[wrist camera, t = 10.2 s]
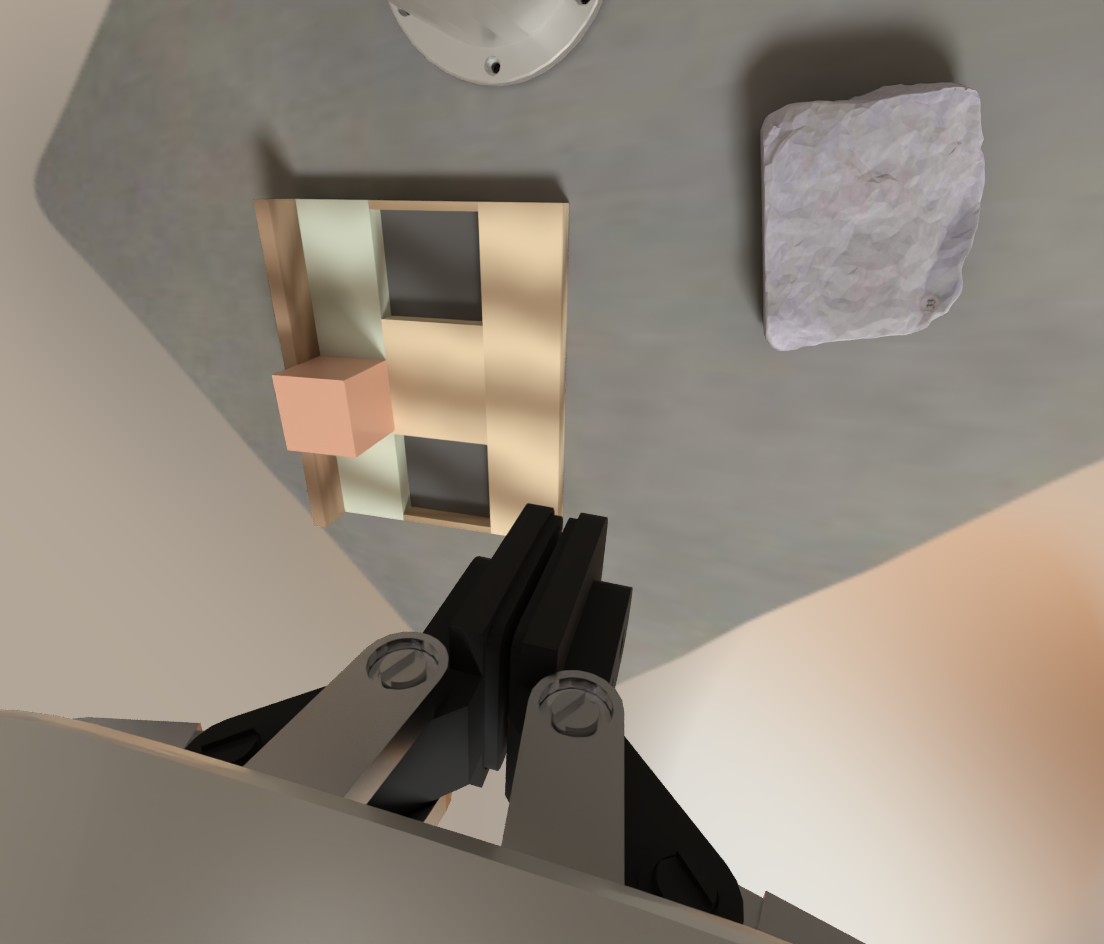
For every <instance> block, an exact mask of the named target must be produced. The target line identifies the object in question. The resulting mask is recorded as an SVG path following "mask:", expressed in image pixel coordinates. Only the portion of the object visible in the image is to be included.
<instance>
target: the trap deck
mask: <svg viewBox="0 0 1104 944" xmlns="http://www.w3.org/2000/svg"><path fill="white" fill-rule="evenodd" d="M253 201H254V206H255V211H256V217H257V222H258V227H259V233H260V238H261V243H262V249H263V254H264V260H265V265H266V270H267V276H268V281H269V286H270V292H271V297H272V302H273V308H274V313H275V318H276V324H277V329H278V334H279V340H280V345H281V350H282V356H283V361H284V366H285V370H286V369H288V368H291V367H293V366H296V365H298V364H301V363H303V362H306V361H308V360H311V359H313V358H316V357H318V356H334V357H349V358H364V359H378V360H386V362H387V370H388V378H389V386H390V394H391V402H392V410H393V418H394V427H395V430H394V431H393V432H392V433H390V434H389V435H387V436H386V437H385V438H383V439H382V440H380V441H379V442H378V443H376V444H375V445H373V446H372V447H371V448H369V449H368V450H366V451H365V452H364V453H362V454H361V455H359V456H358V457H357V458H353V457H344V456H335V455H327V454H318V453H309V452H301V457H302V463H303V468H304V473H305V479H306V484H307V489H308V495H309V500H310V505H311V511H312V516H313V522H314V525H315V526H321V527H327V526H328V525H329V524H331V523H332V522H333V521H334V520H335V519H337V518H338V517H339V516H340V515H341V514H343V513H344V512H345V511H346V512H352V513H359V514H366V515H372V516H379V517H385V518H392V519H399V520H405V521H412V522H419V523H425V524H432V525H439V526H445V527H452V528H458V529H465V530H472V531H478V532H485V533H492V534H498V535H505V536H506V535H507V533H508V532H509V530H510V529H511V527H512V526H513V524H514V523H515V521H516V519H517V518H518V516H519V515H520V513H521V512H522V510H523V508H524V507H525V505H526V504H527V503H531V504H536V505H542V506H547V507H553V508H554V511H555V515H558V516H562V517H563V479H564V430H565V381H566V333H567V284H568V236H569V203H542V202H476V201H410V200H344V199H253Z"/></svg>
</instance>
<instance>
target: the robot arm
mask: <svg viewBox="0 0 1104 944" xmlns="http://www.w3.org/2000/svg"><path fill="white" fill-rule="evenodd" d="M387 1H388V4H389V6H390V8H391V10H392V12H393V14H394V16H395V18H396V20H397V23H398V24H399V26H400V27H401V28H402V30H403V31H404V33H405V34H406V36H407V37H408V39H409V40H410V42H411V43H412V44H413V45H414V46H415V47H416V48H417V49H418V50H419V51H420V52H421V53H422V54H423V55H424V56H425V57H426V58H427V59H428V60H429V61H430V62H432V63H433V64H434V65H436V66H437V67H439V68H440V69H442V70H443V71H445V72H446V73H448V74H450V75H452V76H455V77H457V78H459V79H461V80H464V81H467V82H471V83H475V84H479V85H482V86H508V85H512V84H517V83H522V82H526V81H528V80H530V79H532V78H534V77H536V76H538V75H541V74H543V73H545V72H546V71H548V70H549V69H550V68H552V67H553V66H554V65H556V64H557V63H558V62H560V61H561V60H562V59H564V58H565V57H566V56H567V55H568V53H569V52H570V51H571V50H572V49H573V48H574V47H575V46H576V45H577V44H578V42H579V41H580V40H581V39H582V38H583V36H584V35H585V33H586V31H587V30H588V28H589V27H590V25H591V24H592V22H593V21H594V19H595V17H596V16H597V14H598V11H599V9H600V7H601V5H602V2H603V0H590V1H589V2H588V4H582V0H387ZM498 63H499V64H500V71H499V72H498V73H497V74H496V73H495V72H494V67H495V65H496V64H498ZM607 524H608V518H607V517H603V516H597V515H592V514H586V513H580V515H579V517H578V519H575V518H569V519H568V521H567V524H566V526H565V528H564V530H563V532H562V527H563V517H562V516H558V515H555V511H554V508H553V507H547V506H542V505H536V504H531V503H527V504H526V505H525V507H524V508H523V510H522V512H521V513H520V515H519V516H518V518H517V519H516V521H515V523H514V524H513V526H512V527H511V529H510V530H509V532H508V533H507V535H506V537H505V538H504V540H503V541H502V543H501V544H500V546H499V548H498V549H497V551H496V552H495V554H494V555H493V557H492V559H490V558H485V557H480V556H478V557H475V558H474V559H473V561H472V562H471V563H470V565H469V566H468V568H467V569H466V571H465V572H464V573H463V575H462V576H461V578H460V579H459V581H458V582H457V584H456V585H455V587H454V588H453V590H452V591H451V592H450V594H449V595H448V597H447V598H446V600H445V601H444V603H443V604H442V606H441V607H440V608H439V610H438V611H437V613H436V614H435V616H434V617H433V619H432V620H431V622H430V623H429V625H428V626H427V627H426V629H425V630H424V632H423V633H419V632H400V633H395V634H390V635H388V636H385V637H383V638H381V639H378V640H377V641H375V642H374V643H372V644H371V645H370V646H368V647H367V648H366V649H365V650H364V651H363V652H362V653H361V654H360V655H358V657H356V658H355V660H353V661H352V662H351V663H350V664H349V665H348V666H347V667H346V668H345V669H344V670H343V671H342V672H341V673H340V674H339V675H338V676H337V677H336V678H335V679H334V680H332V681H331V682H330V683H329V684H328V685H327V686H325V687H322V688H319V689H316V690H313V691H310V692H307V693H304V694H301V695H298V696H295V697H292V698H289V699H286V700H283V701H280V702H277V703H274V704H271V705H268V706H265V707H262V708H259V709H256V710H253V711H250V712H247V713H245V714H241V715H238V716H235V717H232V718H229V719H226V720H224V721H222V722H220V723H217V724H215V725H213V726H211V727H210V728H208V729H207V730H205V731H202V727H201V724H200V723H187V722H169V721H148V720H131V719H112V718H93V717H86V718H75V719H70V718H65V717H60V716H56V715H48V714H41V713H34V712H27V711H20V710H0V944H865V943H863V942H861V941H859V940H857V939H855V938H854V937H852V936H850V935H848V934H846V933H844V932H842V931H840V930H839V929H837V928H835V927H833V926H831V925H829V924H827V923H826V922H824V921H822V920H820V919H818V918H816V917H814V916H813V915H811V914H809V913H807V912H805V911H803V910H801V909H799V908H798V907H796V906H794V905H792V904H790V903H788V902H786V901H784V900H782V899H781V898H779V897H777V896H775V895H773V894H771V893H769V892H767V891H765V894H764V897H763V898H762V897H760V896H758V895H756V894H754V893H753V892H751V891H749V890H747V889H745V888H743V887H741V886H740V885H738V883H737V881H736V879H735V877H734V876H733V874H732V872H731V871H730V869H729V868H728V866H727V865H726V863H725V862H724V860H723V859H722V858H721V857H720V855H719V854H718V853H717V852H716V850H715V849H714V848H713V847H712V845H711V844H710V843H709V842H708V840H707V839H706V838H705V837H704V836H703V834H702V833H701V832H700V830H699V829H698V828H697V827H696V825H695V824H694V823H693V822H692V820H691V819H690V818H689V817H688V815H687V814H686V813H685V811H684V810H683V809H682V808H681V807H680V805H679V804H678V803H677V801H676V800H675V799H674V798H673V797H672V795H671V794H670V793H669V792H668V790H667V789H666V788H665V786H664V785H663V784H662V783H661V782H660V780H659V779H658V778H657V776H656V775H655V774H654V773H653V771H652V770H651V769H650V768H649V766H648V765H647V764H646V763H645V761H644V760H643V759H642V758H641V756H640V755H639V754H638V752H637V751H636V750H635V749H634V748H633V746H632V745H631V744H630V742H629V741H628V740H627V739H626V738H625V736H624V708H623V703H622V699H621V698H620V696H619V695H618V693H617V691H616V689H615V686H616V681H617V677H618V672H619V667H620V663H621V658H622V653H623V648H624V643H625V637H626V631H627V625H628V619H629V612H630V605H631V598H632V590H633V589H632V587H628V586H623V585H618V584H613V583H608V582H603V581H601V577H602V569H603V560H604V551H605V542H606V534H607ZM506 753H507V755H506ZM505 755H506V784H505V796H506V798H507V799H508V801H509V807H508V813H507V818H506V823H505V829H504V834H503V840H502V845H501V846H498V845H494V844H491V843H488V842H485V841H482V840H479V839H476V838H472V837H469V836H466V835H463V834H459V833H456V832H453V831H450V830H447V829H443V828H440V827H437V825H438V824H439V822H440V820H441V819H442V817H443V815H444V814H445V812H446V810H447V808H448V806H449V804H450V801H451V795H452V792H453V791H455V790H458V789H460V788H462V787H464V786H466V785H468V784H471V785H474V786H478V787H482V786H483V783H484V781H485V778H486V776H487V773H488V771H489V769H493V770H496V771H498V770H499V769H500V768H501V765H502V763H503V761H504V758H505Z"/></svg>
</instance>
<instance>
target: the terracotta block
mask: <svg viewBox="0 0 1104 944" xmlns="http://www.w3.org/2000/svg"><path fill="white" fill-rule="evenodd" d="M272 378H273V383H274V388H275V392H276V397H277V402H278V407H279V411H280V416H281V421H282V426H283V431H284V435H285V440H286V445H287V450H291V451H300V452H309V453H318V454H327V455H335V456H344V457H353V458H357V457H358V456H359V455H361V454H362V453H364V452H365V451H366V450H368V449H369V448H371V447H372V446H373V445H375V444H376V443H378V442H379V441H380V440H382V439H383V438H385V437H386V436H387V435H389V434H390V433H392V432H393V431H394V430H395V427H394V418H393V410H392V402H391V394H390V386H389V378H388V370H387V362H386V360H378V359H364V358H349V357H334V356H318V357H316V358H313V359H311V360H308V361H306V362H303V363H301V364H298V365H296V366H293V367H291V368H288V369H286V370H283V371H281V372H278V373H276V374H273V375H272Z"/></svg>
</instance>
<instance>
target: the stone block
mask: <svg viewBox="0 0 1104 944" xmlns="http://www.w3.org/2000/svg"><path fill="white" fill-rule="evenodd" d="M760 140H761V186H762V196H761V199H762V248H763V327H764V336H765V338H766V340H767V341H768V343H769V345H770V346H771V347H772V348H773V349H775V350H778V351H787V350H796V349H798V348H801V347H804V346H814V345H817V344H821V343H825V342H833V341H843V340H853V339H863V338H877V337H883V336H891V335H906V334H910V333H913V332H917V331H920V330H922V329H924V328H927V327H928V325H929V324H930V322H931V321H932V320H934V319H935V318H938V317H940V316H941V315H944V314H945V313H947V312H948V310H949V309H950V307H951V306H952V304H953V303H954V302H955V300H956V299H957V298H958V297H959V295H960V294H961V291H962V288H963V281H962V266H963V263H964V260H965V258H966V256H967V255H968V254H969V252H970V250H971V247H972V244H973V240H974V235H975V232H976V229H977V226H978V221H979V214H980V208H981V205H980V200H981V197H982V193H983V188H984V183H985V162H984V156H983V152H982V150H981V148H980V147H981V145H982V142H983V140H984V137H983V134H982V130H981V113H980V97H979V94H978V93H977V91H975V90H972V89H971V88H969V87H967V86H965V85H962V84H954V83H953V82H949V83H942V82H940V83H931V84H924V83H918V84H915V85H903V84H898V85H893V86H883V87H881V88H879V89H877V90H874V91H872V92H869V93H867V94H864V95H861V96H854V97H852V98H851V99H849V100H837V101H834V102H832V101H811V102H799V103H797V102H796V103H792V104H788V105H786V106H784V107H782V108H781V109H779V110H777V111H774V112H772V113H770V114H769V115H768V116H766V118H765V120H764V122H763V125H762V128H761V130H760Z"/></svg>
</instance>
